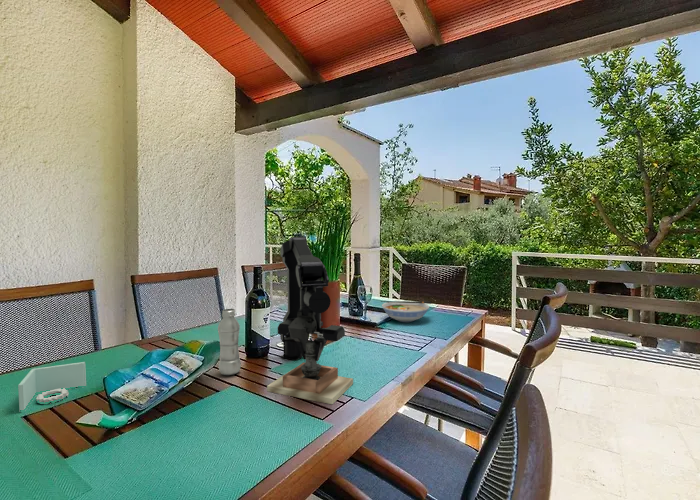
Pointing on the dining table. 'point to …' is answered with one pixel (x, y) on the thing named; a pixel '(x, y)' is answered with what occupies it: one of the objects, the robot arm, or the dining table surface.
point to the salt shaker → (311, 362)
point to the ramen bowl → (406, 310)
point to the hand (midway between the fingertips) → (310, 359)
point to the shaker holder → (312, 385)
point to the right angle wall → (51, 382)
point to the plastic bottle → (229, 343)
